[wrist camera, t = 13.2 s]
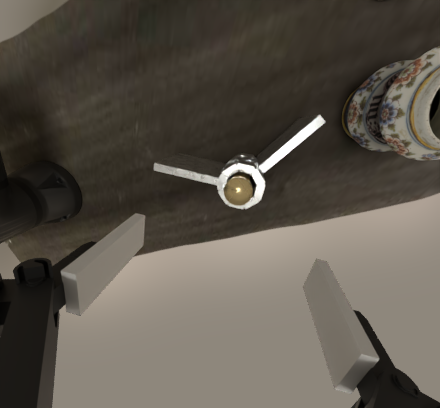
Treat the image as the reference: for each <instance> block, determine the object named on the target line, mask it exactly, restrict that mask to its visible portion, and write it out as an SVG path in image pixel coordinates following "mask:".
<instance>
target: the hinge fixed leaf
mask: <svg viewBox="0 0 440 408" xmlns="http://www.w3.org/2000/svg"><path fill="white" fill-rule="evenodd" d="M237 156H247V157H251V159H252V158H254V159H255V160H256V159H257V157H254V155H252V154H247V153H243V152H242V154H241V153H239V154H238V155H236V156H235V157H236V158H237ZM235 157H233V158H231V159H230V160H229V162H231V161H232V160H233V159H234V158H235ZM229 162H228V163H229ZM228 163H227V164H228ZM227 164H226V163H222V162H218V161H213V160H209V159H205V158H200V157H196V156H192V155H187V154H183V153H178V154H175V155H173V156H170V157H168V158H165V159H163V160H160V161H158V162H155V163H154V170H155V171H159V172H163V173H167V174H171V175H176V176H180V177H184V178H188V179H192V180H196V181H201V182H205V183H209V184H213V185H217V186H218V187H217V190H218V193H219V195H220V196H221V198H222V199H223V201H224V202H225V204H228V203H229V202H228V201H227V200H226V198H225V196H224V188H225V185H226V183H227V182H228V180H229V177H230V176H231V178H233V175H234V174H235V173H236V172H238V171H239V172H243V173H247V174H251V176H252V177H253V178H252V179H250V183H251V184H252V183H253V182H254V181H255V182H256V183H255V187H254V189H253V194H252V197H251V199H250V201H249V202H248V203H246V204H244V205H241V206H236V205H233V204H231V203H229V204H228V206H231V207H235V208H239V209H244V208H245V209H247V208H249V207H251V206H253V205H255V204H257V203H258V202H259V200H261V199H262V195H263V192H264V189H265V185H266V184H265V178H264V175H263V174H262V172H261V170H260V169H259V167H258V165H257V164H255V162H251V161H247V160H242V159H239V161H238V159H237V160H235V161H234V162H232V163H231V164H229V165H228V166H226V165H227ZM225 166H226V167H225Z"/></svg>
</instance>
